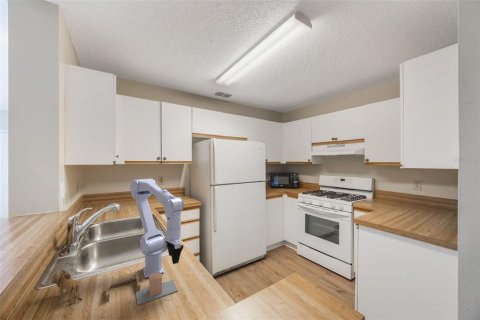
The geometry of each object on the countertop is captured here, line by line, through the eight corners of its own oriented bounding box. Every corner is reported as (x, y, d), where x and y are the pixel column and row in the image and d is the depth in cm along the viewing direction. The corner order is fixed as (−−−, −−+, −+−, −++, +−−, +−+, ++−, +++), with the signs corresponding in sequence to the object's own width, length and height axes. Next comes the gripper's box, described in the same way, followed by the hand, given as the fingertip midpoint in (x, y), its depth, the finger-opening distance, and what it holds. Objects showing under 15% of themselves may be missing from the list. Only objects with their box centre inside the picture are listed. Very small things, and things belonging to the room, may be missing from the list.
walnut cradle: (107, 288, 76) (107, 282, 76) (138, 279, 82) (138, 273, 82) (105, 302, 69) (106, 295, 69) (140, 291, 75) (140, 284, 75)
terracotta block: (149, 290, 75) (149, 275, 75) (159, 286, 77) (160, 271, 77) (150, 296, 71) (150, 280, 71) (161, 292, 74) (161, 276, 74)
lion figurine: (46, 297, 71) (47, 273, 71) (63, 288, 76) (63, 266, 76) (74, 306, 67) (74, 280, 67) (90, 296, 72) (90, 272, 72)
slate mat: (135, 292, 74) (135, 291, 74) (172, 280, 82) (172, 279, 82) (137, 305, 67) (137, 304, 67) (177, 291, 75) (177, 290, 75)
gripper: (161, 223, 85) (160, 254, 84) (166, 234, 72) (166, 270, 72) (177, 221, 88) (177, 250, 88) (185, 230, 76) (185, 265, 76)
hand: (173, 259), depth 80 cm, fingers open, 7 cm apart
